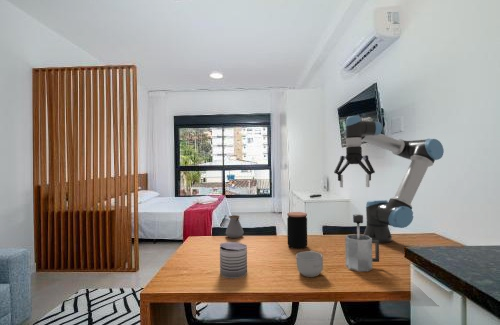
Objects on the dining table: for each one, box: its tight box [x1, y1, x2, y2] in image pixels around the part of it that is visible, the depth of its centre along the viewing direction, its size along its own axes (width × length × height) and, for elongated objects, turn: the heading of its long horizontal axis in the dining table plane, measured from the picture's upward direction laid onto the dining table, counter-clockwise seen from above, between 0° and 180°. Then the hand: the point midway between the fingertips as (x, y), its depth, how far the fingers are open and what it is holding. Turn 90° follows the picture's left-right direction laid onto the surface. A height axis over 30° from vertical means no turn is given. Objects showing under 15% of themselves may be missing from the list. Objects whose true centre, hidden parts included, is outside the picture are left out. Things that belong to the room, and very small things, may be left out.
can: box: [219, 241, 248, 279], centre depth 117 cm, size 11×11×12 cm
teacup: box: [295, 250, 324, 278], centre depth 116 cm, size 14×11×8 cm
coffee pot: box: [225, 214, 245, 239], centre depth 171 cm, size 21×12×15 cm, turn 12°
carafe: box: [344, 233, 380, 273], centre depth 122 cm, size 14×10×13 cm
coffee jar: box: [286, 211, 308, 250], centre depth 153 cm, size 11×11×18 cm
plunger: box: [352, 213, 364, 240], centre depth 122 cm, size 8×8×20 cm
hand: (354, 187), depth 146 cm, fingers open, 13 cm apart
